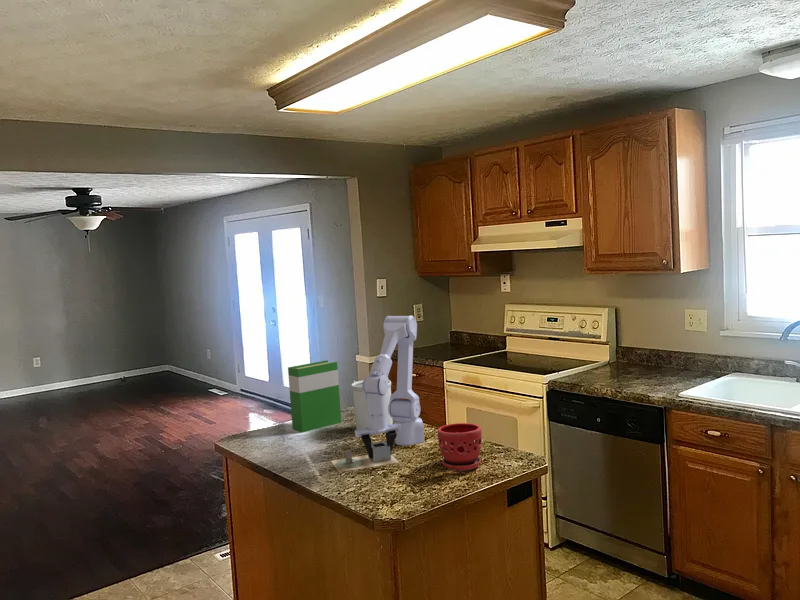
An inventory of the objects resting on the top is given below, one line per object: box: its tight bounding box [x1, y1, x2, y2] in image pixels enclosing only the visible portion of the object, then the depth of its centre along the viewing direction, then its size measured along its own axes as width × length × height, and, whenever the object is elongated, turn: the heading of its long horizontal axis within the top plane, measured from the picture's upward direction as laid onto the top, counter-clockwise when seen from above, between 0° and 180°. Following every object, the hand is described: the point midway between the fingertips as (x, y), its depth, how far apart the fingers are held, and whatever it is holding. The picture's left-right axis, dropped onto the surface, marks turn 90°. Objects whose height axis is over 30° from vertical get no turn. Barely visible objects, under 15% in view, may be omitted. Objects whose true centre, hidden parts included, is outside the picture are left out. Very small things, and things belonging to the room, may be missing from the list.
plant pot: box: [437, 422, 483, 472], centre depth 200 cm, size 13×13×12 cm
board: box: [330, 446, 400, 473], centre depth 207 cm, size 19×12×6 cm, turn 108°
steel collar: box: [371, 441, 392, 463], centre depth 209 cm, size 6×6×4 cm
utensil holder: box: [350, 379, 394, 430], centre depth 248 cm, size 15×15×18 cm
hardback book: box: [287, 359, 342, 433], centre depth 257 cm, size 18×7×24 cm, turn 129°
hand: (379, 456), depth 209 cm, fingers closed on steel collar, 6 cm apart
